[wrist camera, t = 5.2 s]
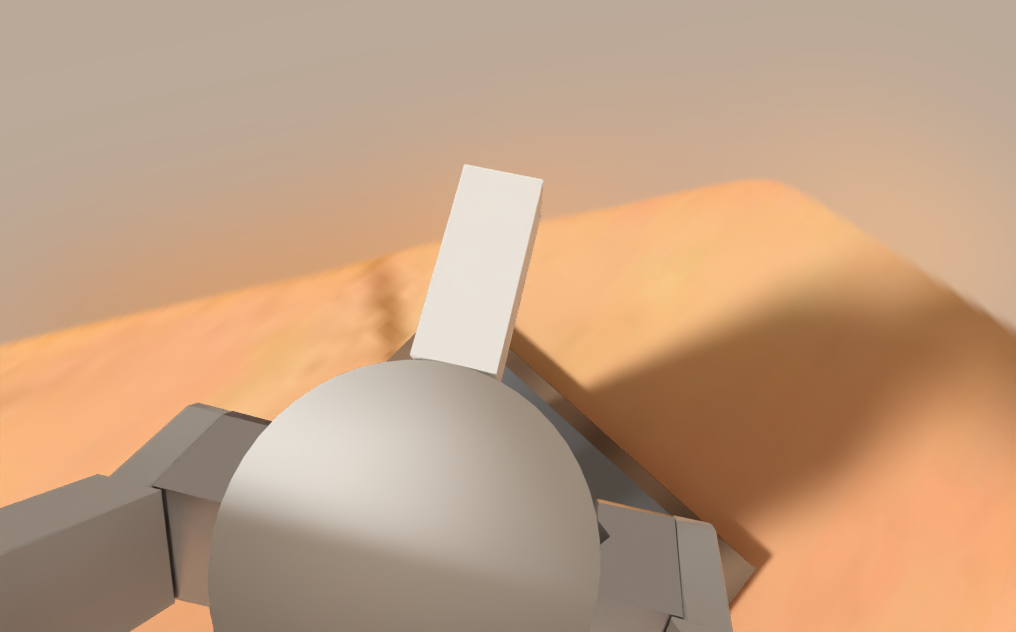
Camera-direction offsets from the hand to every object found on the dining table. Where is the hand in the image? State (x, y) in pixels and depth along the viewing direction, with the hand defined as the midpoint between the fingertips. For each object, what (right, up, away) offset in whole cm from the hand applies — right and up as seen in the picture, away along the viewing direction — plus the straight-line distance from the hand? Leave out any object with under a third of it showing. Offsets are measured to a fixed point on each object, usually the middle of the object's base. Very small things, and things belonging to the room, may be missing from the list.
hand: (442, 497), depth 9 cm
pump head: (0, -3, +11) cm, 11 cm away
